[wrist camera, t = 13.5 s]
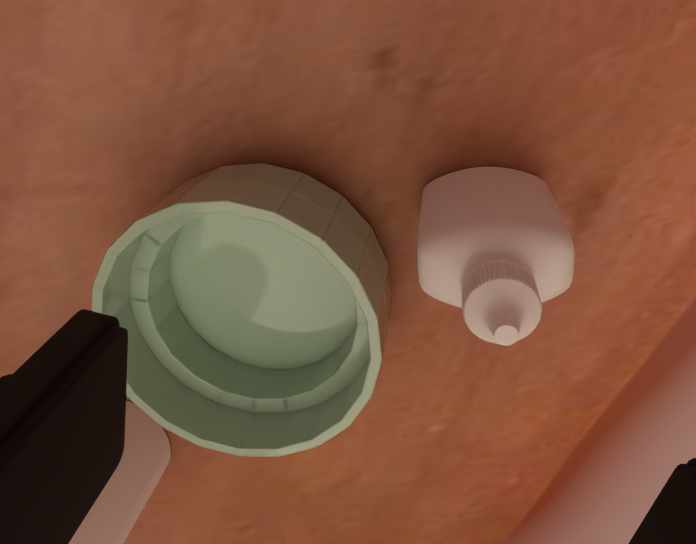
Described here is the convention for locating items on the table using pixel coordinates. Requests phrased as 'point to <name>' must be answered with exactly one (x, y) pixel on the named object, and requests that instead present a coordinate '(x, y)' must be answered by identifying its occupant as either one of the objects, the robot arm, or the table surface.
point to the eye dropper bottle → (493, 249)
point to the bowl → (249, 310)
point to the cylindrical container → (127, 482)
